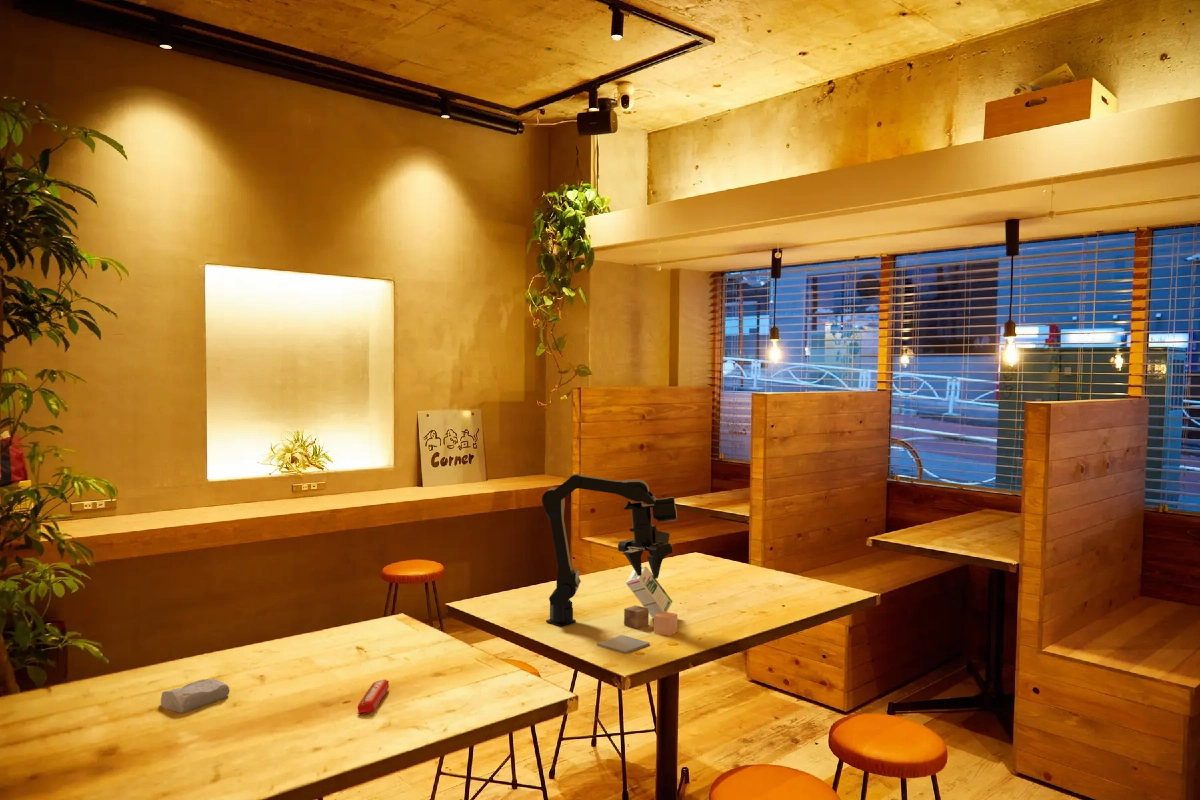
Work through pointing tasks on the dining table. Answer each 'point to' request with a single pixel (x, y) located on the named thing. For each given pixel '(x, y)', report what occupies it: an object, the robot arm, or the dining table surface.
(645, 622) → the walnut cube
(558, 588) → the robot arm
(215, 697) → the stone block
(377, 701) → the candy bar
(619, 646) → the coaster
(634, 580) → the syrup box
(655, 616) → the terracotta cube
